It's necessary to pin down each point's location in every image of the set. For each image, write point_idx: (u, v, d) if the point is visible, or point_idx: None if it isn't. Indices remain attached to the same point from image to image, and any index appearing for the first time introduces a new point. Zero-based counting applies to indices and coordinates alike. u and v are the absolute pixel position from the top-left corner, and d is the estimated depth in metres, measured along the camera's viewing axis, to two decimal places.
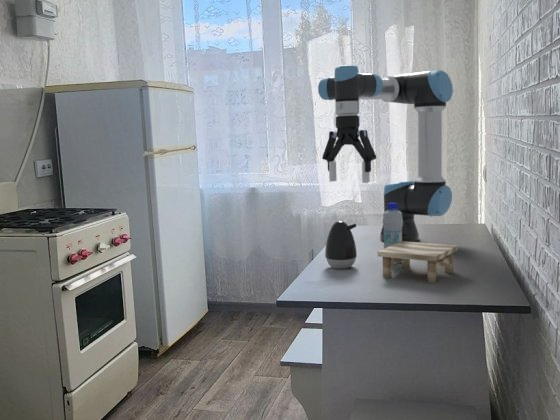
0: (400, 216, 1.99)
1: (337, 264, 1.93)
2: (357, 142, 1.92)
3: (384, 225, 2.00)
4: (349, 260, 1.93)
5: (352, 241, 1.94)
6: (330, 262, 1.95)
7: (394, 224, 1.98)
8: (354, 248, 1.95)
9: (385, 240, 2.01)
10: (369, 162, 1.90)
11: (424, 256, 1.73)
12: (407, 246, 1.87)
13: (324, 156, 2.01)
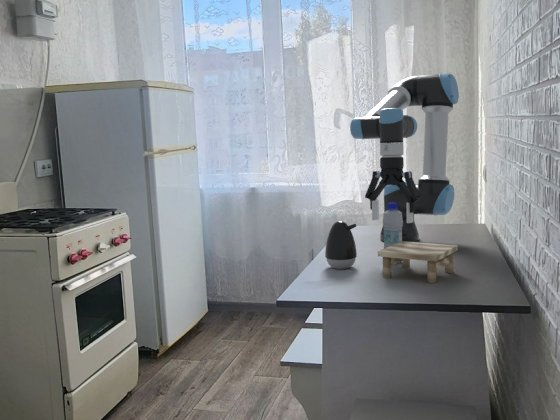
0: (400, 216, 1.99)
1: (337, 264, 1.93)
2: (401, 183, 1.96)
3: (384, 225, 2.00)
4: (349, 260, 1.93)
5: (352, 241, 1.94)
6: (330, 262, 1.95)
7: (394, 224, 1.98)
8: (354, 248, 1.95)
9: (385, 240, 2.01)
10: (414, 203, 1.94)
11: (424, 256, 1.73)
12: (407, 246, 1.87)
13: (367, 195, 2.05)
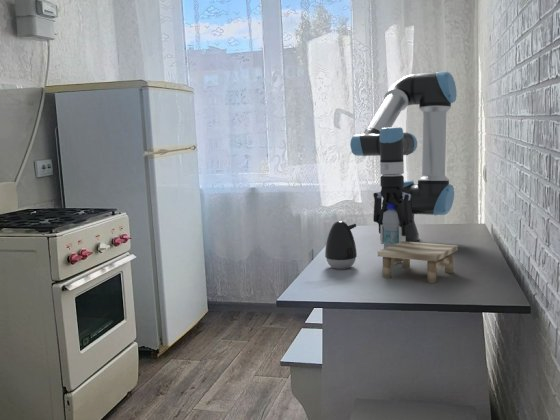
0: None
1: (337, 264, 1.93)
2: (399, 204, 1.98)
3: (384, 225, 2.00)
4: (349, 260, 1.93)
5: (352, 241, 1.94)
6: (330, 262, 1.95)
7: (394, 224, 1.98)
8: (354, 248, 1.95)
9: (385, 240, 2.01)
10: (406, 227, 1.97)
11: (424, 256, 1.73)
12: (407, 246, 1.87)
13: (375, 218, 2.04)
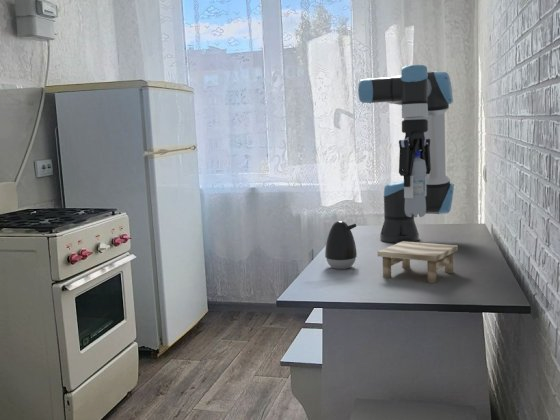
0: None
1: (337, 264, 1.93)
2: (408, 151, 1.79)
3: None
4: (349, 260, 1.93)
5: (352, 241, 1.94)
6: (330, 262, 1.95)
7: None
8: (354, 248, 1.95)
9: None
10: (405, 177, 1.78)
11: (424, 256, 1.73)
12: (407, 246, 1.87)
13: None
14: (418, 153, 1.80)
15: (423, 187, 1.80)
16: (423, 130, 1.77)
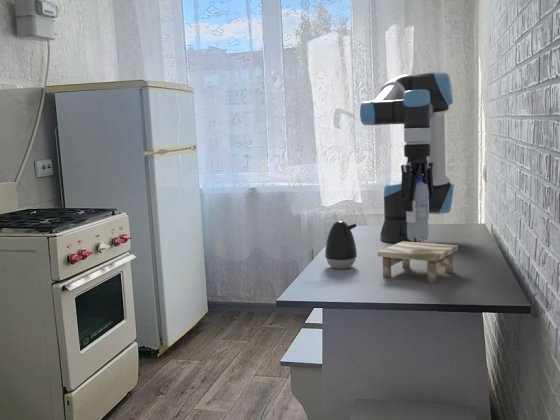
0: None
1: (337, 264, 1.93)
2: (411, 176, 1.79)
3: None
4: (349, 260, 1.93)
5: (352, 241, 1.94)
6: (330, 262, 1.95)
7: None
8: (354, 248, 1.95)
9: None
10: (407, 201, 1.78)
11: (424, 256, 1.73)
12: (407, 246, 1.87)
13: None
14: (420, 177, 1.79)
15: (425, 211, 1.80)
16: (425, 155, 1.77)
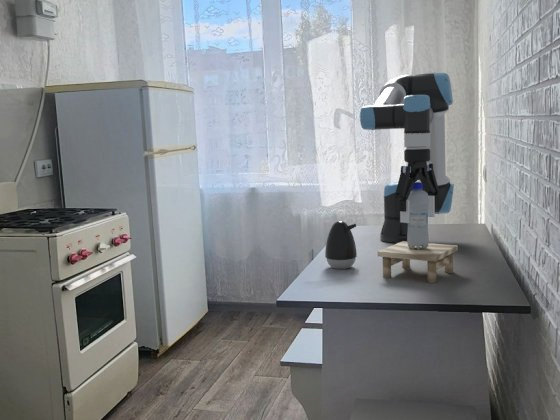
0: (411, 197, 1.79)
1: (337, 264, 1.93)
2: (409, 178, 1.78)
3: None
4: (349, 260, 1.93)
5: (352, 241, 1.94)
6: (330, 262, 1.95)
7: None
8: (354, 248, 1.95)
9: None
10: (401, 201, 1.76)
11: (424, 256, 1.73)
12: (407, 246, 1.87)
13: None
14: (420, 186, 1.80)
15: (426, 219, 1.80)
16: (425, 160, 1.77)
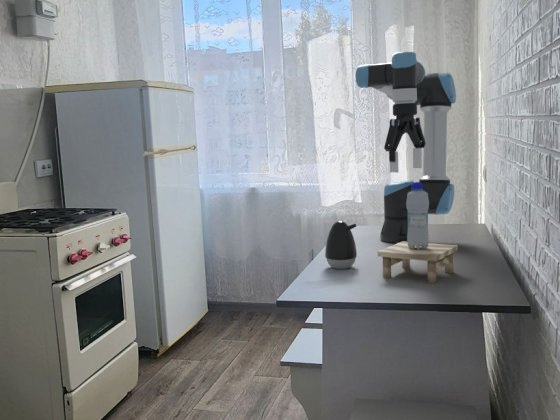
0: (412, 197, 1.79)
1: (337, 264, 1.93)
2: (397, 131, 1.90)
3: None
4: (349, 260, 1.93)
5: (352, 241, 1.94)
6: (330, 262, 1.95)
7: None
8: (354, 248, 1.95)
9: None
10: (390, 152, 1.88)
11: (424, 256, 1.73)
12: (407, 246, 1.87)
13: None
14: (421, 186, 1.80)
15: (426, 220, 1.80)
16: (412, 113, 1.89)
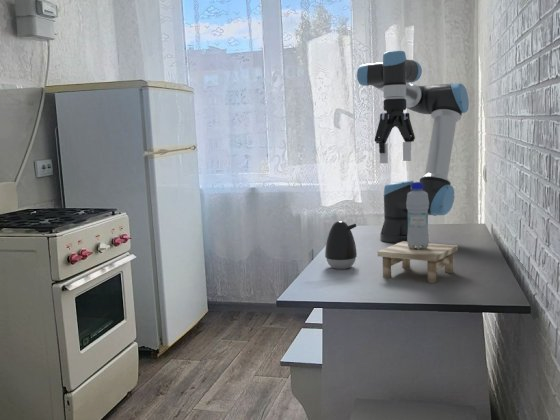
0: (412, 197, 1.79)
1: (337, 264, 1.93)
2: (387, 124, 2.03)
3: None
4: (349, 260, 1.93)
5: (352, 241, 1.94)
6: (330, 262, 1.95)
7: None
8: (354, 248, 1.95)
9: None
10: (380, 144, 2.00)
11: (424, 256, 1.73)
12: (407, 246, 1.87)
13: None
14: (421, 186, 1.80)
15: (426, 220, 1.80)
16: (402, 108, 2.01)
